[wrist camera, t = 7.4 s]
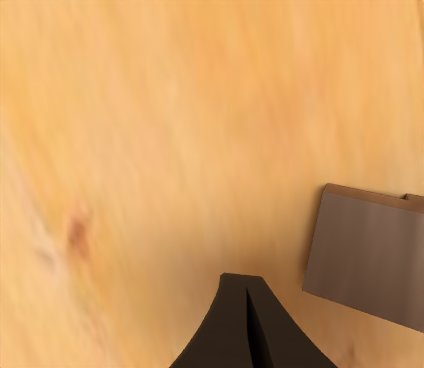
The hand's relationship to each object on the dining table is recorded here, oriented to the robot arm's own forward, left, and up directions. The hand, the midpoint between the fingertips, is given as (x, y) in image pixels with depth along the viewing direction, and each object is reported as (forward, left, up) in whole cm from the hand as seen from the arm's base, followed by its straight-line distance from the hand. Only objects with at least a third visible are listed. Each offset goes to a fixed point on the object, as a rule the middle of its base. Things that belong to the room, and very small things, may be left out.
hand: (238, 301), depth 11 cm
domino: (+4, 0, -5) cm, 7 cm away
